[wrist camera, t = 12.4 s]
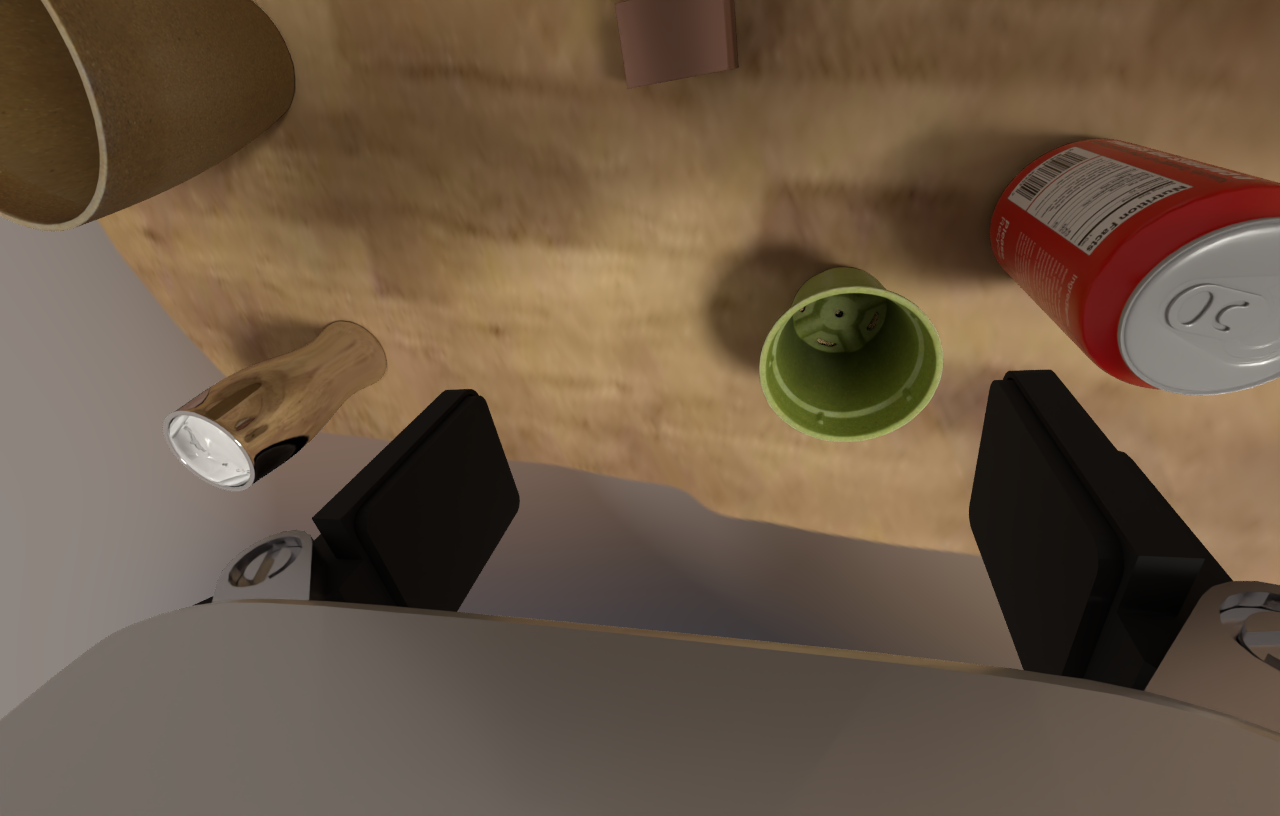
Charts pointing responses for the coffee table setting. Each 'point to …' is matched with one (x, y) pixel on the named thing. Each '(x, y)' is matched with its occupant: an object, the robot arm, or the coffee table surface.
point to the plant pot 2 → (850, 359)
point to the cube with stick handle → (676, 39)
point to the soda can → (1149, 263)
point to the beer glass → (272, 407)
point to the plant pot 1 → (127, 99)
